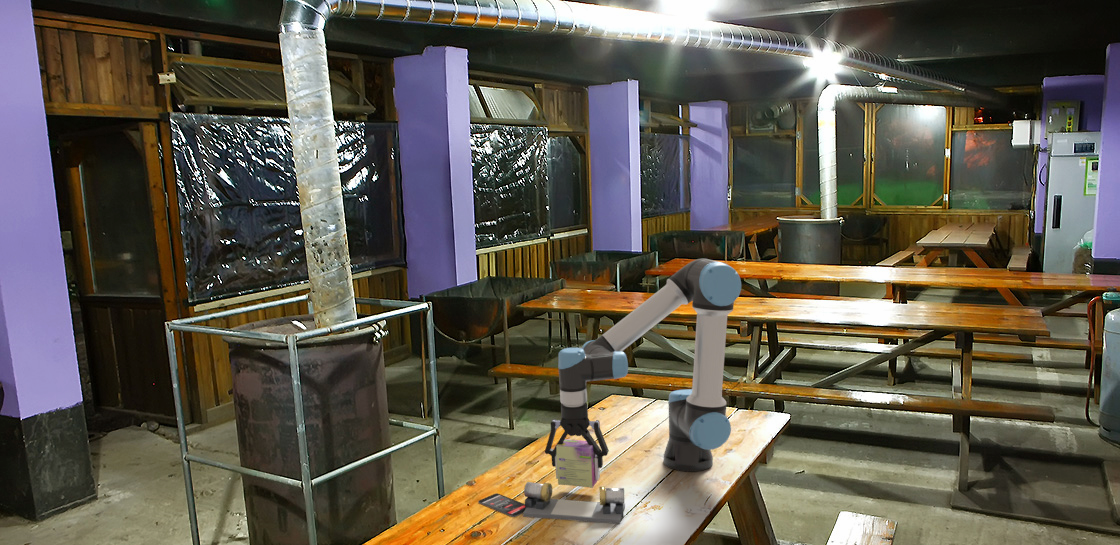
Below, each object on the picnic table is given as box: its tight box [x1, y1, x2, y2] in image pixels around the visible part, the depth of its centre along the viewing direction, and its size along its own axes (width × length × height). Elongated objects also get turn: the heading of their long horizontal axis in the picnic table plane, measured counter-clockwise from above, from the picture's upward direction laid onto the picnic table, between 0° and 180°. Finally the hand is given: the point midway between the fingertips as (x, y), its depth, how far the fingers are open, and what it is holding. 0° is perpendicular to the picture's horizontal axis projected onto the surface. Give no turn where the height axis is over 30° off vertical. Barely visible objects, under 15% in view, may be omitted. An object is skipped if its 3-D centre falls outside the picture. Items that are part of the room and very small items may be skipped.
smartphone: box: [478, 493, 525, 518], centre depth 211 cm, size 7×1×15 cm
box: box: [555, 438, 599, 489], centre depth 217 cm, size 10×6×12 cm, turn 71°
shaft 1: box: [523, 481, 553, 510], centre depth 208 cm, size 6×5×7 cm
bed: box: [522, 498, 626, 525], centre depth 206 cm, size 26×10×1 cm, turn 77°
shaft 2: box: [599, 486, 625, 519], centre depth 204 cm, size 6×5×7 cm
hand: (578, 477), depth 218 cm, fingers closed on box, 11 cm apart
